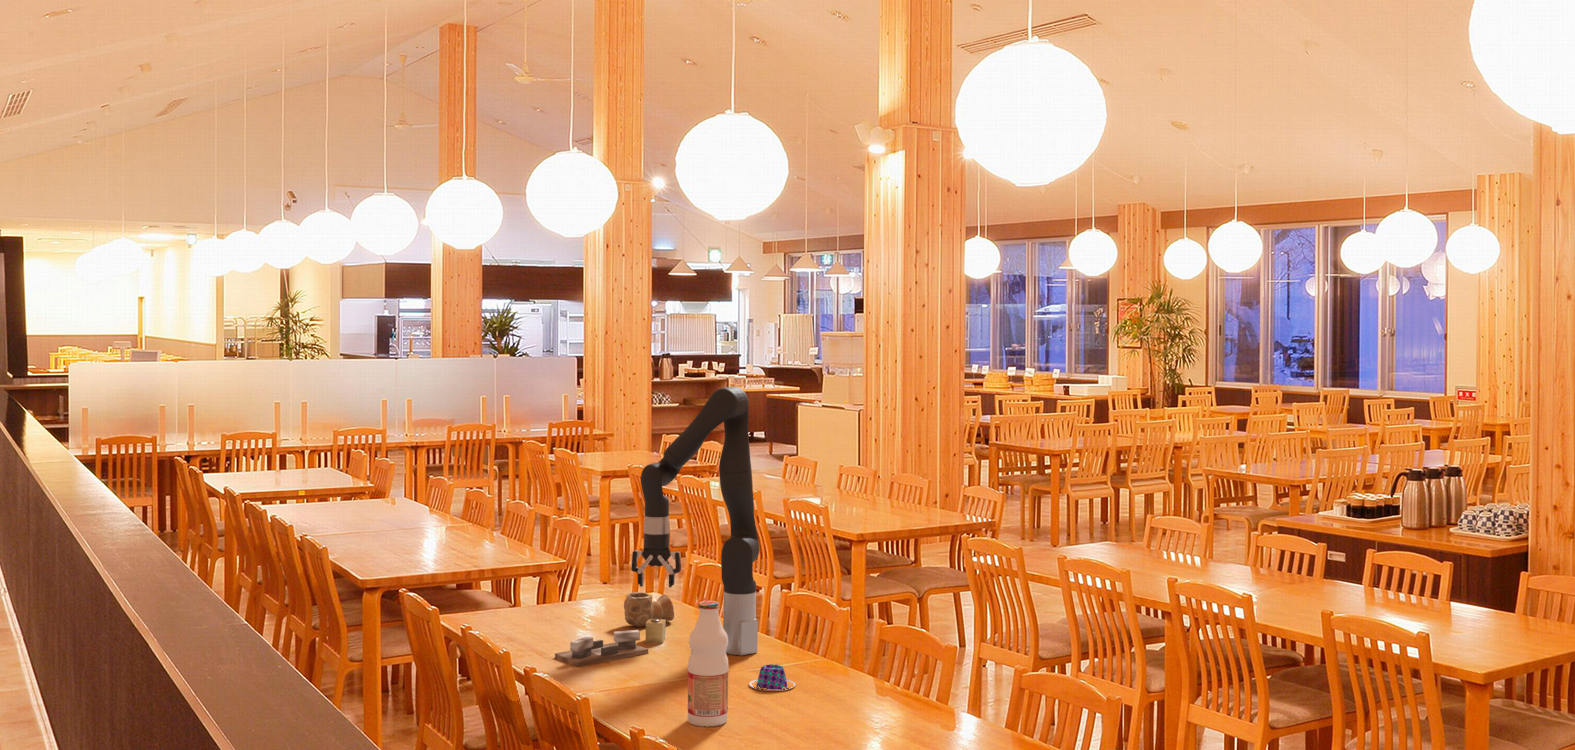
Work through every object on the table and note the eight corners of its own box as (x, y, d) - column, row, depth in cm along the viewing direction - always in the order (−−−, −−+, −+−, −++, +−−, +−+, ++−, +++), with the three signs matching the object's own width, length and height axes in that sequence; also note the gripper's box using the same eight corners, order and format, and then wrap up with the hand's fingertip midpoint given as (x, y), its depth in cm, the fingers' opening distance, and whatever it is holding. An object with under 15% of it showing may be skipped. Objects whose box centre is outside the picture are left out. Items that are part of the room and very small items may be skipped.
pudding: (803, 685, 330) (804, 665, 330) (780, 696, 320) (780, 675, 320) (764, 678, 336) (764, 658, 336) (740, 688, 326) (740, 668, 326)
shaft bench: (648, 653, 358) (648, 632, 358) (578, 666, 343) (578, 645, 343) (624, 644, 367) (624, 624, 367) (554, 657, 352) (555, 636, 352)
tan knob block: (665, 639, 375) (665, 618, 374) (662, 643, 370) (662, 622, 369) (648, 639, 375) (648, 617, 375) (645, 643, 370) (645, 621, 370)
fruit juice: (706, 730, 291) (708, 608, 290) (679, 721, 298) (680, 602, 297) (736, 721, 298) (737, 602, 297) (708, 712, 305) (709, 596, 304)
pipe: (678, 624, 394) (678, 591, 394) (635, 631, 384) (635, 598, 383) (661, 618, 401) (661, 587, 401) (618, 626, 391) (618, 593, 390)
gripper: (630, 532, 368) (629, 588, 368) (678, 534, 367) (678, 589, 367) (634, 528, 375) (634, 583, 376) (682, 529, 374) (682, 584, 375)
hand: (656, 586), depth 372 cm, fingers open, 8 cm apart
